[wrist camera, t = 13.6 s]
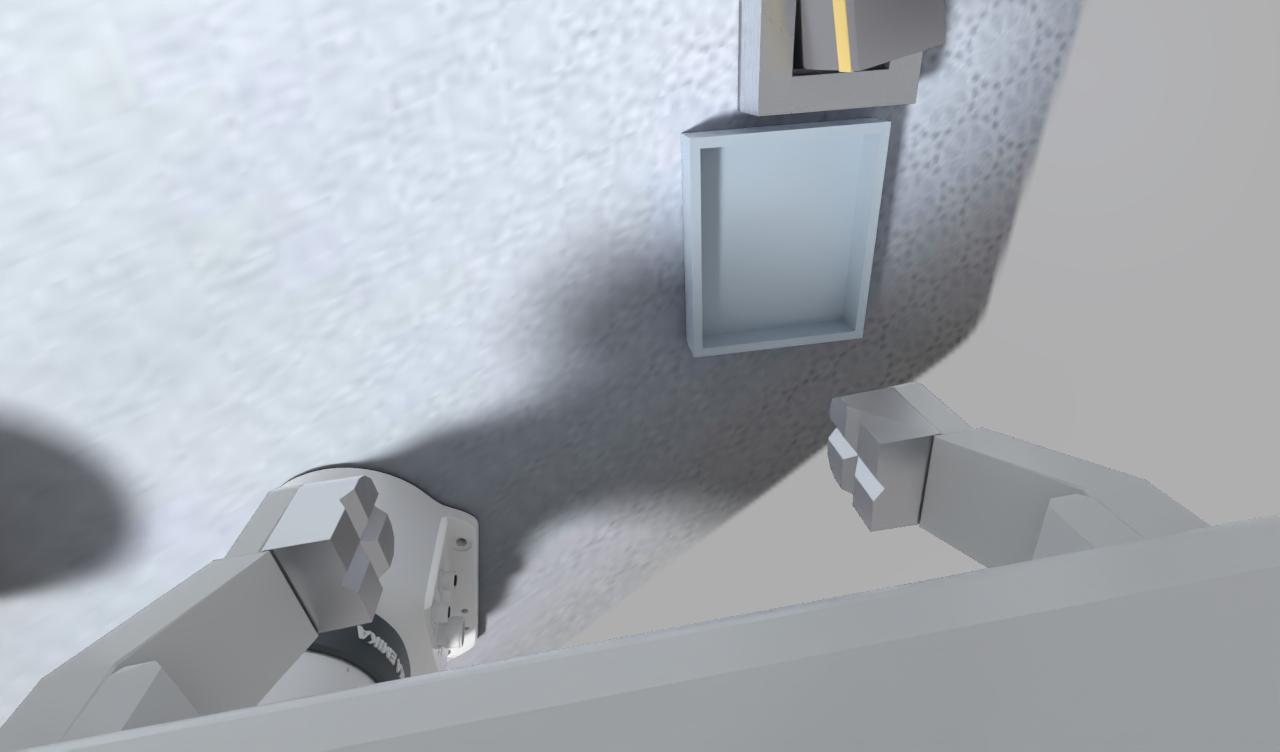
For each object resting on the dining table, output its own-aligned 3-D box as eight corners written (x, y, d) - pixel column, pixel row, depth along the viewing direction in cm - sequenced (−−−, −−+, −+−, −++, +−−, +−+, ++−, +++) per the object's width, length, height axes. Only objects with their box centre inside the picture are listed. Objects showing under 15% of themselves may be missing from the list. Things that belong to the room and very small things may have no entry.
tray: (846, 323, 43) (862, 338, 41) (686, 341, 42) (694, 357, 40) (870, 117, 36) (891, 121, 34) (680, 133, 35) (689, 138, 33)
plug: (855, 48, 34) (946, 44, 26) (788, 69, 34) (858, 72, 26) (849, -35, 32) (945, -66, 24) (777, -12, 32) (849, -35, 24)
